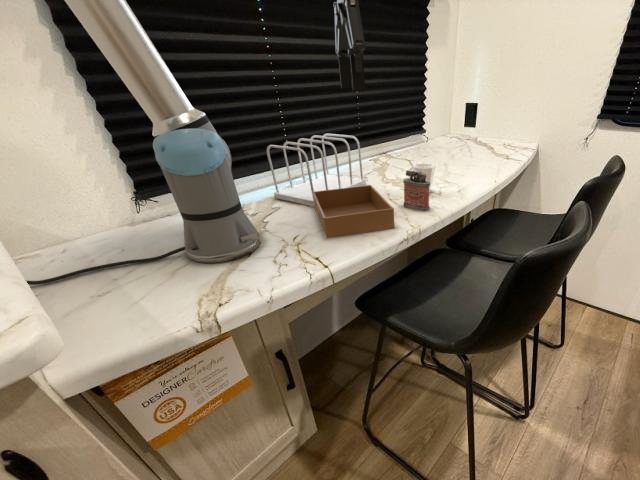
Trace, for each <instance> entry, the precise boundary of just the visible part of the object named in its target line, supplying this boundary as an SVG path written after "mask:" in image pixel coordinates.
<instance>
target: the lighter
mask: <svg viewBox="0 0 640 480" xmlns="http://www.w3.org/2000/svg"><path fill="white" fill-rule="evenodd" d="M405 176H406V178H404V179H403V181H402V182H403V207H404V208H406V209H410V210H413V211H414V210H415V211H422V212H427V211H429V210H430V192H429V190H430V189H429V186H430V182H429V181H425V180H426V174H425V173H421V171H417V172H415V171H413V170H412V171H410V169H408V170H406V171H405ZM409 176H410V178H409ZM407 177H408V178H407Z"/></svg>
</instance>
